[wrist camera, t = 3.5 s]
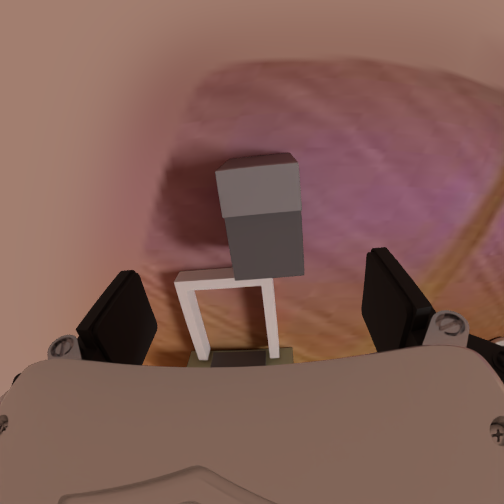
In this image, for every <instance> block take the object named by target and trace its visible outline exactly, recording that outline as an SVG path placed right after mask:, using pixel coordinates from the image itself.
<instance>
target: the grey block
mask: <svg viewBox="0 0 504 504" xmlns="http://www.w3.org/2000/svg"><path fill="white" fill-rule="evenodd" d="M215 174H216V181H217V187H218V193H219V200H220V206H221V212H222V218H224V219H225V225H226V231H227V237H228V243H229V249H230V255H231V261H232V267H233V272H234V278H235V281H240V280H253V279H266V278H278V277H290V276H301V275H304V254H303V234H302V217H301V210H302V204H301V190H300V177H299V165H298V162H297V161H296V159H295V158H294V157H293V156H292V155H291V154H290V153H281V154H270V155H260V156H251V157H242V158H234V159H229V160H228V161H226V162H225V163H224V164H223V165H222V166H221V167H220V168H219V169H217V170H216V171H215Z"/></svg>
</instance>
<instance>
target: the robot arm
mask: <svg viewBox="0 0 504 504" xmlns="http://www.w3.org/2000/svg"><path fill="white" fill-rule="evenodd" d="M362 316H363V318H364V321H365V323H366V325H367V328H368V330H369V332H370V335H371V337H372V340H373V342H374V345H375V347H376V350H377V352H376V353H371V354H365V355H359V356H352V357H345V358H338V359H331V360H323V361H314V362H304V363H294V364H282V365H268V366H250V367H214V368H199V367H163V366H145V365H142V364H143V361H144V359H145V357H146V354H147V352H148V350H149V347H150V345H151V343H152V340H153V338H154V336H155V334H156V331H157V322H156V319H155V317H154V314H153V312H152V309H151V306H150V304H149V301H148V298H147V295H146V293H145V290H144V287H143V284H142V281H141V278H140V276H139V274H138V273H136V272H135V271H134V270H127V271H121V272H120V273H119V274H118V275H117V276H116V278H115V279H114V280H113V281H112V282H111V284H110V285H109V286H108V287H107V289H106V290H105V291H104V293H103V294H102V295H101V296H100V298H99V299H98V300H97V302H96V303H95V304H94V305H93V307H92V308H91V309H90V311H89V312H88V314H87V315H86V316H85V318H84V319H83V320H82V322H81V323H80V324H79V326H78V327H77V328H76V331H77V333H78V334H79V337H78V338H76V337H75V336H73V335H65V336H61V337H60V338H58V339H56V340H55V341H54V342H53V343H52V344H51V345H50V347H49V349H48V360H44V361H40V362H37V363H34V364H32V365H30V366H28V367H27V368H26V369H25V370H24V371H23V372H22V373H20V374H18V375H17V376H16V377H15V378H14V381H13V383H12V386H11V388H10V389H9V390H8V391H7V392H6V393H5V394H4V395H3V396H1V397H0V504H504V338H503V337H501V338H497V339H494V340H492V341H487V340H485V339H482V338H479V337H476V336H474V335H471V334H469V324H468V322H467V320H466V319H465V318H464V317H463V316H462V315H460V314H459V313H456V312H454V311H448V310H445V311H439V312H437V313H436V312H435V310H434V309H433V307H432V305H431V304H430V302H429V301H428V300H427V298H426V297H425V296H424V294H423V293H422V292H421V290H420V289H419V288H418V286H417V285H416V284H415V282H414V281H413V280H412V279H411V277H410V276H409V275H408V274H407V272H406V271H405V270H404V269H403V267H402V266H401V265H400V264H399V262H398V261H397V260H396V259H395V258H394V256H393V255H392V254H391V253H390V252H389V250H388V249H387V248H386V247H382V248H372V249H371V252H368V253H367V257H366V270H365V281H364V291H363V300H362Z"/></svg>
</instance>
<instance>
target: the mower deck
mask: <svg viewBox="0 0 504 504" xmlns="http://www.w3.org/2000/svg"><path fill="white" fill-rule="evenodd" d="M174 284H175V288H176V291H177V294H178V298H179V301H180V304H181V307H182V311H183V314H184V317H185V320H186V323H187V326H188V329H189V332H190V335H191V338H192V341H193V344H194V347H195V350H196V351H191V355H190V358H189V361H188V365H187V367H199V368H214V367H250V366H268V365H282V364H294V363H293V350H292V347H289V348H279V340H278V328H277V317H276V307H275V296H274V286H273V278H266V279H253V280H240V281H235V278H234V272H233V268H220V269H207V270H194V271H180V272H179V274H178V275H177V277H176V279H175V281H174ZM251 286H261V287H262V295H263V303H264V312H265V320H266V328H267V336H268V345H269V349H259V350H236V351H210V345H209V341H208V338H207V335H206V331H205V328H204V324H203V321H202V317H201V314H200V310H199V307H198V303H197V299H196V296H195V292H194V290H206V289H222V288H237V287H251Z"/></svg>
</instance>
